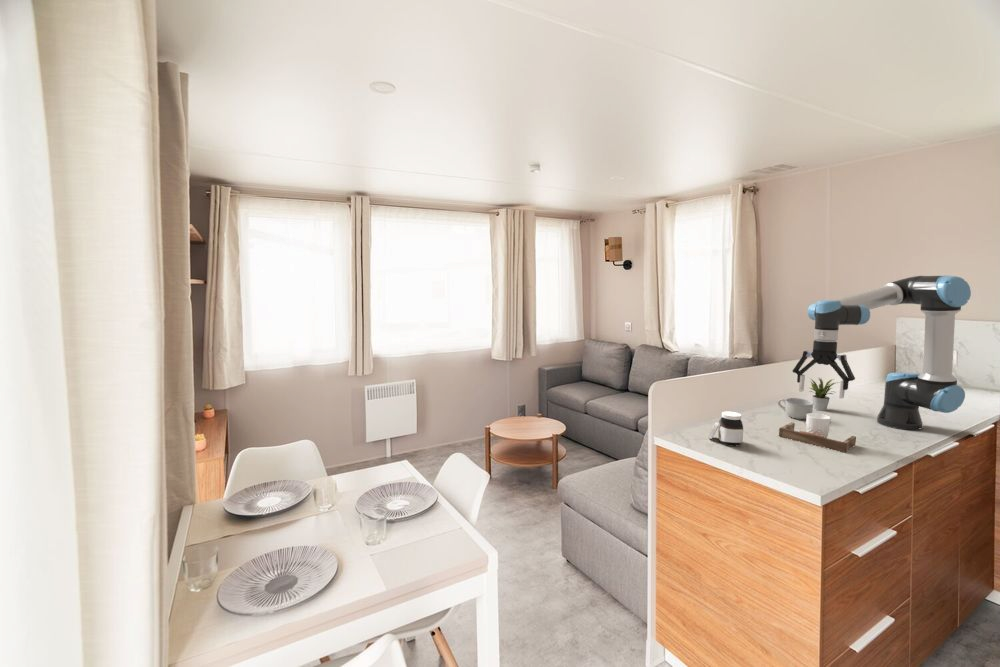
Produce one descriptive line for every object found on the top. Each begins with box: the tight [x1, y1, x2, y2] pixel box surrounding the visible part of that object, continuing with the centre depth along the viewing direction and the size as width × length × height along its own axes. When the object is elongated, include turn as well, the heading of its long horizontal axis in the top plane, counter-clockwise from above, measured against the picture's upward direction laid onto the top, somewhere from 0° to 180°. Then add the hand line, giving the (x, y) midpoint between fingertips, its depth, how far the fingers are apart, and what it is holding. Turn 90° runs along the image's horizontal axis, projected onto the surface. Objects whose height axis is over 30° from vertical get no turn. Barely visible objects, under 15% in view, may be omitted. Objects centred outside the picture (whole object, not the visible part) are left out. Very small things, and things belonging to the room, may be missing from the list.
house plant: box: [809, 377, 841, 412], centre depth 227 cm, size 14×14×16 cm
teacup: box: [777, 397, 814, 420], centre depth 216 cm, size 14×11×8 cm
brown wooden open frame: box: [778, 421, 857, 454], centre depth 185 cm, size 12×22×4 cm, turn 38°
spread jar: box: [707, 410, 744, 447], centre depth 183 cm, size 12×11×12 cm
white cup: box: [805, 412, 831, 438], centre depth 185 cm, size 8×8×10 cm
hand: (820, 394), depth 183 cm, fingers open, 13 cm apart
